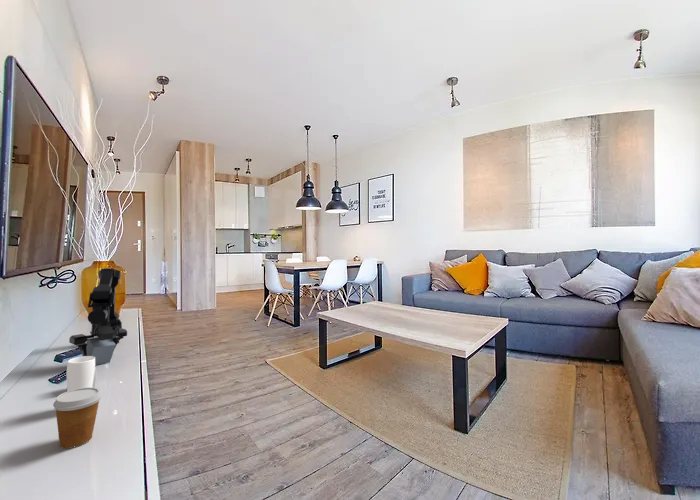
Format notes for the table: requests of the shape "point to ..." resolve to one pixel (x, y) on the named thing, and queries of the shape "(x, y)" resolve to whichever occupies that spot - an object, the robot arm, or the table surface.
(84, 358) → the white paper cup
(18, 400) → the table surface
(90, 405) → the disposable coffee cup
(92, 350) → the grey cube
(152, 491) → the table surface
